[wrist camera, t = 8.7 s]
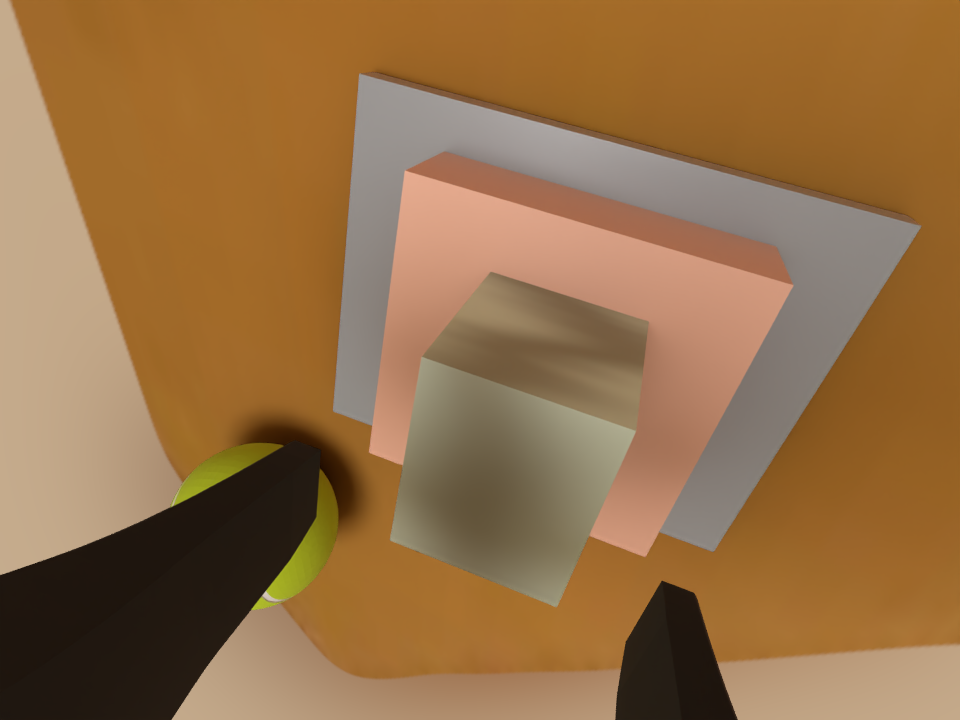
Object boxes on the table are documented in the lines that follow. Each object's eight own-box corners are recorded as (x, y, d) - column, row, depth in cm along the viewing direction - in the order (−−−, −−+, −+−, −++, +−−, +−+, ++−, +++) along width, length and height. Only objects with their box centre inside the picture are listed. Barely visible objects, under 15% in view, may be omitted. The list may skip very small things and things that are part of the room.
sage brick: (648, 321, 15) (636, 430, 11) (585, 475, 18) (556, 607, 14) (490, 271, 16) (421, 357, 12) (455, 427, 19) (389, 540, 14)
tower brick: (776, 246, 16) (793, 285, 14) (649, 496, 21) (645, 557, 19) (444, 151, 18) (405, 170, 15) (403, 407, 23) (369, 452, 20)
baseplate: (908, 216, 16) (921, 226, 15) (712, 533, 23) (713, 551, 22) (374, 72, 18) (359, 73, 17) (344, 398, 25) (332, 411, 24)
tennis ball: (357, 427, 26) (261, 542, 20) (371, 540, 29) (293, 666, 23) (224, 402, 27) (101, 500, 22) (253, 511, 31) (153, 622, 25)
